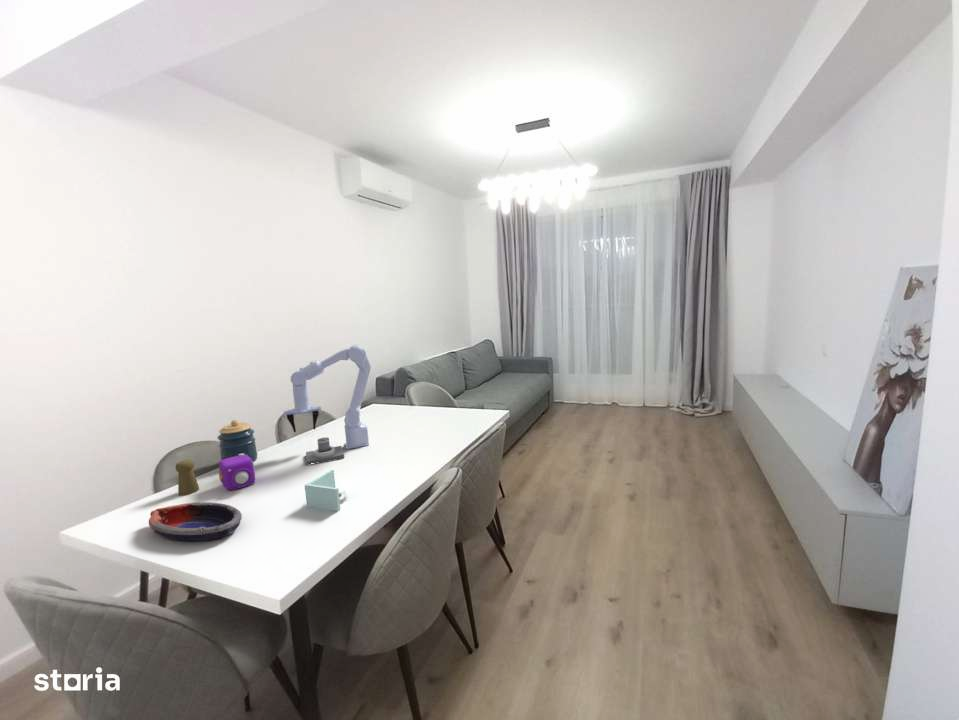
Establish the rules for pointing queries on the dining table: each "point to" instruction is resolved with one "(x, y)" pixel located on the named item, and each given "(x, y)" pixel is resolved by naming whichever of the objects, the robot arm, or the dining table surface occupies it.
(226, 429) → the canister
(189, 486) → the olive chess piece
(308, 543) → the dining table surface
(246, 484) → the toy camera
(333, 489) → the right angle wall
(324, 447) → the lens
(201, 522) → the dish
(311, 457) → the grey flat piece
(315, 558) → the dining table surface
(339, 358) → the robot arm
